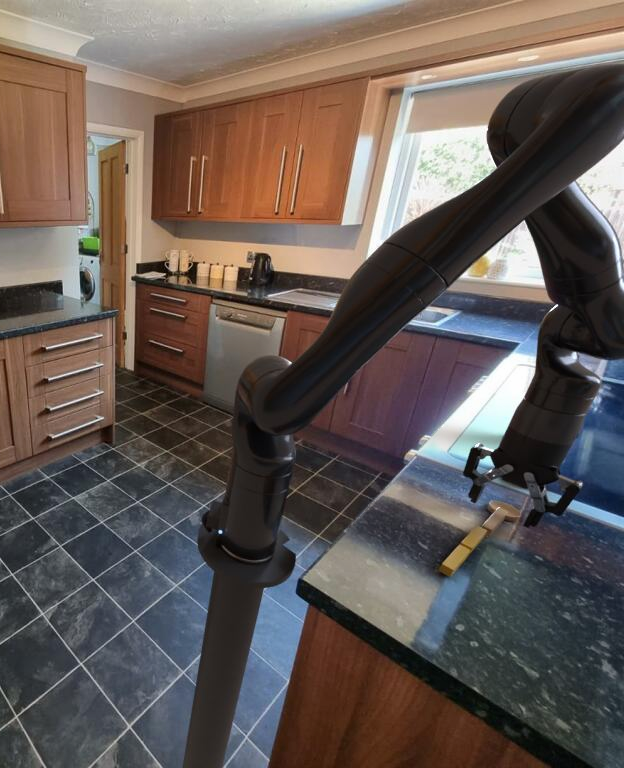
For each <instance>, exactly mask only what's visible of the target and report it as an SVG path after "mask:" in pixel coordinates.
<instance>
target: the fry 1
mask: <svg viewBox="0 0 624 768" xmlns="http://www.w3.org/2000/svg"><path fill="white" fill-rule="evenodd" d="M460 544H461V543H460ZM460 544H458V545H457V546H456V548H454V550H453V551H452V552H451V553H450V554H449V555H448V556H447V557H446V559H445V560H444V561H443V562H442V563H441V565H440V567H439V569H438V572H440V573H442V574H443V575H445V576H447V577H449V578H451V577H452V576H453V575H454V573H456V571H457V570H458V569H459V568H460V566H461V565H462V564H463V563H464V562H465V561H466V560H467V558H468V557H469V556H470V555H469V553H470V551H471V550H470V549H468V548H466V547H464V546H462V545H460ZM470 554H471V553H470Z"/></svg>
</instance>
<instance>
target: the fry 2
mask: <svg viewBox="0 0 624 768" xmlns="http://www.w3.org/2000/svg"><path fill="white" fill-rule="evenodd" d="M481 527H482V526H479V525H475V527H474V528H472V530H471V531H470V532H469V533H468V534H467V535H466V537H464V539H463V540H462V541H461V542H460V545H462V546H464V547H466V548H468V549H470V550H471V551H470V553H469V555H468V556H470V555H471V553H472V552H473V551H474V550H475V549H476V548H477V547H478V545H479V544H480V543H481V542H482V540H483V539H485V537H486V536H485V535H486V533H487V530H485V529H483V528H481Z"/></svg>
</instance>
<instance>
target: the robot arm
mask: <svg viewBox="0 0 624 768" xmlns="http://www.w3.org/2000/svg"><path fill="white" fill-rule="evenodd" d="M623 141H624V63H610V64H609V63H607V64H598V65H594V66H588V67H584V68H577V69H572V70H568V71H567V70H566V71H561V72H556V73H550V74H545V75H542V76H537V77H534V78H531V79H528V80H526V81H523V82H521V83H520V84H518V85H516V86H515V87H513V88H511V90H510V91H508V92H507V93H506V94H505V95H504V96H503V97H502V99H501V100H500V101H499V102H498V104H497V105H496V106H495V108H494V110H493V112H492V113H491V116H490V118H489V120H488V124H487V127H486V146H487V149H488V153H489V155H490V158H491V160H492V162H493V164H494V166H495V168H494V170H492V171H491V172H490V173H488V174H487V175H486V176H485V177H483V178H482V179H481V180H479V181H478V182H476V183H475V184H474V185H472V186H470V187H469V188H467V189H466V190H464V191H462V192H461V193H459V194H457V195H455V196H454V197H452V198H450V199H448V200H446V201H444V202H443V203H441V204H439V205H437V206H435V207H433V208H432V209H430V210H428V211H426V212H425V213H423V214H421V215H419V216H418V217H416V218H414V219H412V220H411V221H409V222H408V223H406V224H405V225H403V226H402V227H400V228H399V229H397V230H396V231H395V232H394V233H392V234H391V235H390V236H389V237H388V238H387V239H385V240H384V242H382V243H381V244H380V246H378V247H377V248H376V249H375V250H374V251H373V252H372V254H370V256H369V257H367V259H365V260H364V261H363V263H362V264H360V266H359V267H358V268H357V269H356V270H355V271H354V272H353V274H352V275H351V277H350V278H349V279H348V281H347V282H346V283H345V286H344V288H343V290H342V292H341V294H340V296H339V298H338V299H337V301H336V304H335V306H334V309H333V310H332V313H331V315H330V317H329V319H328V321H327V323H326V324H325V326H324V328H323V330H322V331H321V333H320V334H319V335H318V337H317V338H316V339H315V340H314V341H313V343H312V344H311V345H310V346H309V347H308V348H307V349H305V350H304V351H303V352H302V353H301V354H300V355H299V356H298V357H297V358H296V359H295V360H294V361H293V362H292V361H290V360H289V359H287V358H286V357H283V356H280V355H274V354H273V355H272V354H269V355H263V356H260V357H258V358H257V357H256V358H255V359H254V360H252V361H251V362H250V363H248V364H247V365H246V366H245V367H244V369H243V370H242V372H241V373H240V375H239V378H238V381H237V384H236V389H235V395H234V400H233V410H232V411H233V412H232V418H231V419H232V421H231V433H230V434H231V442H232V445H231V446H232V448H231V455H230V461H229V466H228V467H229V468H228V473H227V479H226V480H227V481H226V487H225V492H224V495H223V498H222V501H218V500H214V499H213V501H212V503H211V506H210V507H209V510H207V511H206V512H205V513H203V514H202V516H201V525H202V524H203V526H204V527H205V529H206V530H207V531H208V532H212V528H213V529H216V530H218V531H217V538H216V544H215V546H216V547H217V548H220V549H222V550H223V551H224V552H225V553H226V554H227V555H228V556H229V557H231V558H232V559H234V560H236V561H238V562H241V563H244V564H248V565H261V564H264V563H267V562H268V561H270V560H271V559H272V558H273V556H274V553H275V549H276V542H277V537H278V533H279V529H281V524H282V520H283V516H284V512H285V507H286V503H287V499H288V494H289V492H290V491H289V490H290V485H291V483H292V479H293V473H294V469H295V465H296V461H297V460H296V459H297V448H296V444H295V440H294V436H293V434H296V433H298V432H300V431H301V430H303V429H305V428H306V427H308V426H309V425H310V424H311V423H312V422H313V421H314V420H316V419H317V418H318V417H319V415H321V413H322V412H323V411H324V410H325V409H326V408H327V407H328V406H329V405H330V403H331V402H333V400H334V399H335V398H336V397H337V396H338V394H339V393H340V392H341V391H342V390H343V389H344V388H345V386H347V384H348V383H349V382H350V381H351V380H352V379H353V378H354V377H355V375H356V374H358V373H359V371H360V370H361V369H362V368H364V366H365V365H366V364H367V363H369V362H370V361H371V360H372V359H373V358H374V357H375V356H377V354H378V353H379V352H381V350H382V349H384V347H386V346H387V344H389V342H391V341H392V340H393V339H394V338H395V337H396V336H397V335H398V334H399V333H400V332H402V330H403V329H405V327H407V326H408V325H409V324H410V323H411V322H412V321H414V320H415V319H416V318H418V316H420V315H421V314H422V313H423V312H425V310H427V308H429V307H430V306H431V305H432V304H433V303H435V302H436V300H438V299H439V298H440V297H441V296H443V294H445V292H446V291H447V290H448V289H449V288H451V287H452V286H453V285H454V283H456V282H457V280H459V279H460V278H461V277H462V276H463V275H464V274H465V273H466V272H467V271H469V269H470V268H471V267H472V266H474V265H475V264H476V263H478V261H479V260H481V258H483V257H484V256H485V255H486V254H487V253H488V252H489V251H490V250H492V249H493V248H494V247H495V246H496V245H497V244H498V243H500V242H502V240H503V239H504V238H506V236H508V235H509V234H510V233H511V232H512V231H513V230H514V229H516V228H517V227H518V226H520V224H521V223H523V222H524V224H525V225H526V228H527V230H528V232H529V234H530V237H531V239H532V241H533V244H534V247H535V250H536V253H537V257H538V260H539V261H538V262H539V264H540V269H541V270H540V271H541V273H542V278H543V282H544V287H545V290H546V291H545V292H546V294H547V296H548V298H549V300H550V301H551V302H552V303H553V304H555V306H554V307H553V308H551V309H550V310H549V311H548V312H547V313H546V314H545V316H544V317H543V319H542V320H541V322H540V325H539V327H538V333H537V341H536V342H537V343H536V354H535V356H536V357H535V365H534V366H535V367H534V375H533V377H532V379H531V381H530V383H529V386H528V387H527V390H526V392H525V394H524V396H523V398H522V400H521V401H520V403H519V404H518V405H517V406H516V408H515V411H514V412H513V415H512V417H511V419H510V421H509V423H508V425H507V428H506V430H505V432H504V434H503V436H502V438H501V440H500V442H499V445H498V447H497V448H496V449H492V448H489V447H486V446H485V445H484V444H483V443H481V442H477V443H476V444H474V445H473V446H472V447H471V448H470V450H469V454H468V456H467V460H466V462H465V465H464V469H463V471H462V475H463V476H464V477H465V478H469V479H470V480H471V481H472V485H471V487H470V489H469V492H468V494H467V497H468V498H469V499H470V503H473V504H476V503H478V502H479V500H480V498H481V496H482V494H483V493H484V489H485V488H486V486H487V483H489V482H492V481H494V480H496V479H498V478H500V479H501V480H502V481H504V482H507V483H511V484H513V483H514V484H513V485H515V484H516V485H515V486H517V487H519V488H522V489H523V490H526V489H528V492H529V496H530V498H531V499H532V502H533V507H532V508H531V510H530V511H529V513H528V516H527V517H526V519H525V520H524V523H523V524H522V526H523V527H525V528H527V529H529V528H530V527H532V528H535V527H538V525H539V523H540V521H542V518H543V516H544V514H547V513H548V514H549V513H550V514H553V515H555V516H556V517H557V516H558V517H559V516H562V515H564V513H565V511H566V510H567V509H568V507H569V506H570V505H571V504H572V502H573V500H575V498H576V496H577V495H578V494H579V492H580V491H581V490H582V488H583V487H584V482H583V480H581V479H571V478H569V477H567V476H564V475H562V473H561V471H560V469H561V466H562V464H563V462H564V461H565V459H566V457H567V455H568V453H569V451H570V450H571V448H572V446H573V444H574V442H575V440H577V438H579V435H580V432H581V430H582V427H583V424H584V421H585V418H586V416H587V414H588V412H589V410H590V408H591V406H592V404H593V402H594V401H595V399H596V397H597V395H598V394H599V391H600V389H601V387H602V384H603V381H602V378H601V377H600V375H598V374H596V373H595V372H594V371H592V370H590V369H589V368H588V367H586V366H584V365H583V364H582V363H581V362H580V360H579V359H580V358H579V359H578V355H579V354H582V355H584V356H588V357H590V358H594V359H598V360H602V361H621V360H624V259H623V251H622V245H621V242H620V241H621V240H620V238H619V236H618V234H617V231H616V229H615V228H614V226H613V225H612V223H611V222H610V220H609V219H608V218H607V217H606V216H605V214H604V213H603V212H602V211H601V210H600V209H599V208H598V206H597V205H596V204H595V203H594V202H593V201H592V200H591V199H590V198H589V196H588V195H587V194H586V193H585V192H584V190H583V189H582V188H581V186H580V185H579V183H578V182H577V180H578V179H579V178H581V177H582V176H583V175H585V174H587V172H588V171H590V170H591V169H593V168H594V167H595V166H596V165H597V164H598V163H600V162H601V161H602V160H604V159H605V158H606V157H607V156H608V155H609V154H611V153H612V152H613V151H614V150H615V149H616V148H617V147H618V146H619V145H621V143H622V142H623ZM578 353H579V354H578ZM486 457H490V459H491V462H492V464H493V467H492V468H490V469H488V470H486V471H484V472H483V473H480V472H479V471H477V469H478V467H479V464H480V461H481V460H484V459H485V458H486ZM554 483H558V484H559V487H558V489H559V490H560V491H561V492H562V493H563V494H562V495H561V496H560V497H559V499H558V501H557V502H551V501H549V500H550V499H549V497H548V494H547V493H548V489H547V485H551V484H554Z"/></svg>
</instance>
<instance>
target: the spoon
mask: <svg viewBox="0 0 624 768" xmlns="http://www.w3.org/2000/svg"><path fill="white" fill-rule="evenodd" d="M486 508H487V511H488V512H489V513H491V515H490V516H489V517H488V518H487V519H486V521H484V523H483V524H482V525H481V526H480V527H481V528H483V529H485V530H487V533H486V535H485V537H486V538H490V537H491V536H492V535H493V533H494V532H495V531H496V530H497V528H498V527H499V526H500V525H501V524H502V522H504V520H505V521H508V522H517V521H519V520H520V518H521V516H522V513H521V511H520V510H519V509H518V508H517V507H514V506H513V505H511V504H509V503H506V502H504V501H500V500H491V501H489V502H488V504H487V507H486Z"/></svg>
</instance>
